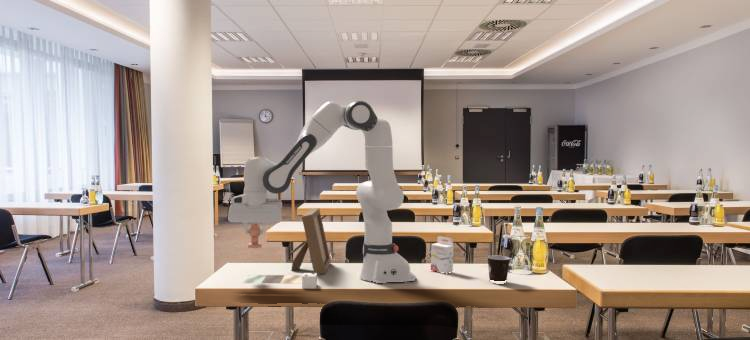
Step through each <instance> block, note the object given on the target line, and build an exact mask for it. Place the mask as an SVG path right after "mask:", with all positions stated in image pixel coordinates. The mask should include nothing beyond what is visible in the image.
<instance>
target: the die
mask: <svg viewBox="0 0 750 340" xmlns="http://www.w3.org/2000/svg"><path fill="white" fill-rule="evenodd" d="M317 284H318V274H317V273H314V272H303V274H302V278H301V289H317Z"/></svg>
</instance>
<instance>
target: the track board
mask: <svg viewBox="0 0 750 340" xmlns="http://www.w3.org/2000/svg"><path fill="white" fill-rule="evenodd" d="M302 276H303V274H301V275H300V274H299V275H298V274H297V275H294V274H291V275H289V274H285V275H284V274H282V275H281V274H248V275H247V276H246V277H245V279H244V280H243V281H242V284H300V283H301V281H302Z"/></svg>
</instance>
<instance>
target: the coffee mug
mask: <svg viewBox="0 0 750 340" xmlns="http://www.w3.org/2000/svg"><path fill="white" fill-rule="evenodd" d="M510 260H511V259H510V257H509V256H506V255H501V254H500V255H497V254H492V255H487V267H488V277H489V279H490V280H494V281H505V280H508V274H509V273H508V272H509V269H510V268H509V267H510ZM490 280H489V281H490Z"/></svg>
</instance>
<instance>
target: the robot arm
mask: <svg viewBox="0 0 750 340" xmlns="http://www.w3.org/2000/svg"><path fill="white" fill-rule="evenodd" d="M341 127H345V128H348V129H350V130H354V131H361V132H362V134H363V137H364V167H365V168H366V170H367V172H368V175H369V178H370V180H367V181H363V182H361V183H360V184H358V186H357V188H356V191H355V195H356V199H357V201H358V203H359V204H360V208H361V212H362V217H363V223H364V241H363V244H362V256H363V261H362V268H361V272H360V275H359V278H360V279H361V280H363V281H366V280H367V281H366V282H371V281H373V282H372V283H374V282H376V283H375V284H377V283H383V284H387V283H386V282H401V281H414V280H415V279H416V280H417V278H416V274H415V273H413V272H412V271H411V266H410V264H409V261H407V260H406V259H405V258H404V257H403V256H402V255H400V254H399V253H398V251H399V248H400V247H399V246H398V245H397V244H395V243H393V224H392V221H391V219H390V217H389V216H388V211H392V210H397V209H399V208H400V207H401V206H402V204H403V202H404V191H403V189H402V188H401V187H400V185H399V184H398V180H397V177H396V173H395V169H394V160H393V159H394V158H393V155H394V153H393V149H394V147H393V134H392V129H391V124H390V122H388V121H387V120H386V119H382V118H378V116H377V114H376V113H375V112H374V109H373V108H372V106H371V105H370V104H369V103H367V102H366V101H364V100H356V101H352V102H351V103H349V104H348V105H346V106H342V105H341V104H339V103H338V102H336V101H332V100H331V101H327V102H325V103H323V105H321V106H320V107H319V108H318V109H317V110H316V111H315V112H314V113H313V114H312V115H311V116H310V118H309V119H307V121H306V122H305V124H304V125H303V128H302V129H301V132H300V133H299V136H298V138H297V141H296V142H295V144H294V145H293V147H292V148H291V149H290V150H289V151H288V153H287V154H286V155H285V156H284V157H283V158H282V160H281V161H280V162H278V163H276V162H273V161H271V160H269V159H268V158H267V157H266V156H254V157H251V158H248V159H247V160H246V161H245V163H244V168H243V169H244V170H243V182H244V188H243V193H242V194H238V195H236V196H233V197H232V198H230V203H231V204H230V206H229V207H228V213H227V220H228V222H229V223H242V227H243V228H244V230H245V235H250V228H248V223H251V224H252V223H253V224H258V223H261V224H262V226H263V227H262V228H260V235H264V234H265V229H266V227H267V226H268V224H279V223H281V222H282V219H283V217H282V210H283V202H282V200H280V199H278V198H268V192H269V193H271V194H274V195H275V194H277V195H278V194H282V193H284V192H286V191H287V190H288V189H289V187H290V184H291V182H292V177H293V175H294V174H295V172H296V171H297V170H298V168H299V167H300V166H301V164H303V163H304V161H305V160H306V159H307V157H308V156H310V155H311V154H312V153H314V152H315V151H317V150H318V149H320V148H321V147H322V146H324V145H325V144H326V143H327V142H328V141H329V140H330V139H331V138H332V137H333V136H334V134H335V133H336V132H337V131H338V129H340V128H341ZM416 280H415V281H416ZM415 281H414V282H415Z"/></svg>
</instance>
